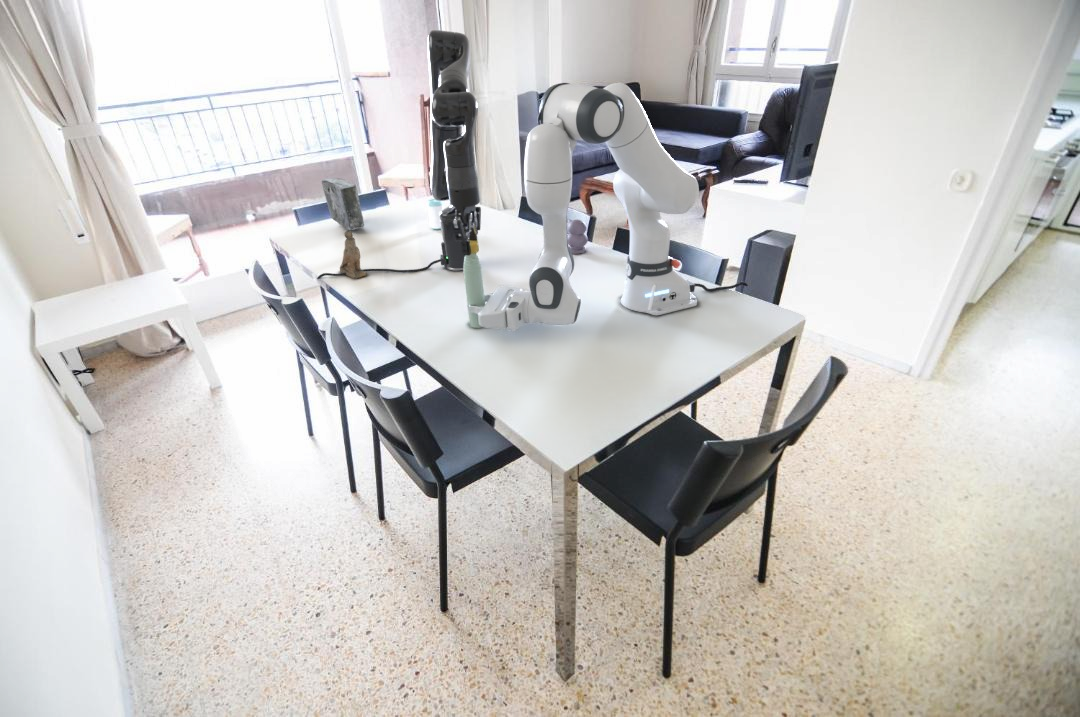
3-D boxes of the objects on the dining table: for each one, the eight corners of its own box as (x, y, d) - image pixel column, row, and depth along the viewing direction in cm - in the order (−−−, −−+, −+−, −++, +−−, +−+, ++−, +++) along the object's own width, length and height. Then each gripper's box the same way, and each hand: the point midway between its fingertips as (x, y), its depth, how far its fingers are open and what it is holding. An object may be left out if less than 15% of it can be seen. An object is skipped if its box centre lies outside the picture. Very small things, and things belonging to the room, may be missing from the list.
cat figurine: (592, 250, 190) (592, 219, 184) (579, 256, 185) (579, 224, 179) (574, 246, 195) (575, 215, 189) (561, 251, 191) (561, 220, 184)
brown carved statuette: (368, 281, 178) (362, 235, 166) (353, 285, 175) (347, 238, 163) (352, 266, 184) (346, 221, 172) (338, 270, 181) (331, 224, 169)
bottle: (468, 328, 140) (458, 248, 128) (471, 320, 144) (462, 241, 132) (485, 328, 139) (477, 248, 127) (488, 320, 143) (480, 241, 131)
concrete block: (369, 232, 221) (359, 185, 210) (349, 236, 216) (338, 189, 206) (350, 219, 239) (340, 176, 229) (331, 223, 235) (320, 179, 225)
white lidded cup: (445, 229, 220) (441, 202, 214) (429, 230, 220) (425, 202, 214) (447, 224, 226) (444, 198, 220) (432, 225, 226) (428, 198, 220)
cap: (479, 248, 132) (478, 239, 131) (478, 253, 129) (477, 245, 127) (462, 249, 132) (461, 240, 131) (461, 254, 128) (460, 245, 127)
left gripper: (461, 177, 128) (468, 242, 137) (435, 190, 117) (445, 260, 126) (488, 178, 126) (493, 244, 135) (465, 191, 115) (472, 262, 124)
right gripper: (529, 281, 143) (483, 278, 145) (510, 312, 126) (459, 308, 128) (530, 301, 146) (485, 298, 149) (512, 334, 129) (461, 330, 132)
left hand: (470, 251), depth 130 cm, fingers closed on cap, 4 cm apart
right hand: (473, 303), depth 138 cm, fingers closed on bottle, 5 cm apart
